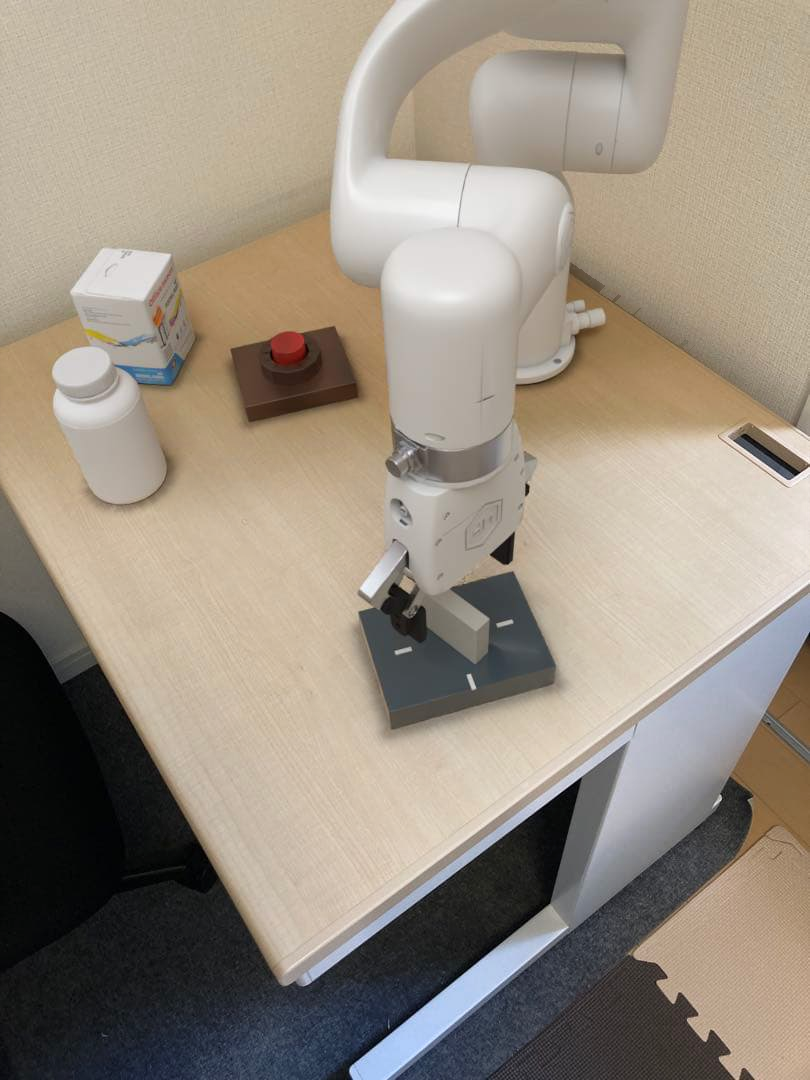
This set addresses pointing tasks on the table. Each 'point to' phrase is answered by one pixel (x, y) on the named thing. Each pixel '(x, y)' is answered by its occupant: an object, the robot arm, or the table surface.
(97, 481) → the pill bottle
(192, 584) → the table surface
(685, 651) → the table surface
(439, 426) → the robot arm
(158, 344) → the ink box
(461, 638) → the beige rectangular block
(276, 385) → the button block
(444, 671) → the rotary knob panel
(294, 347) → the button
